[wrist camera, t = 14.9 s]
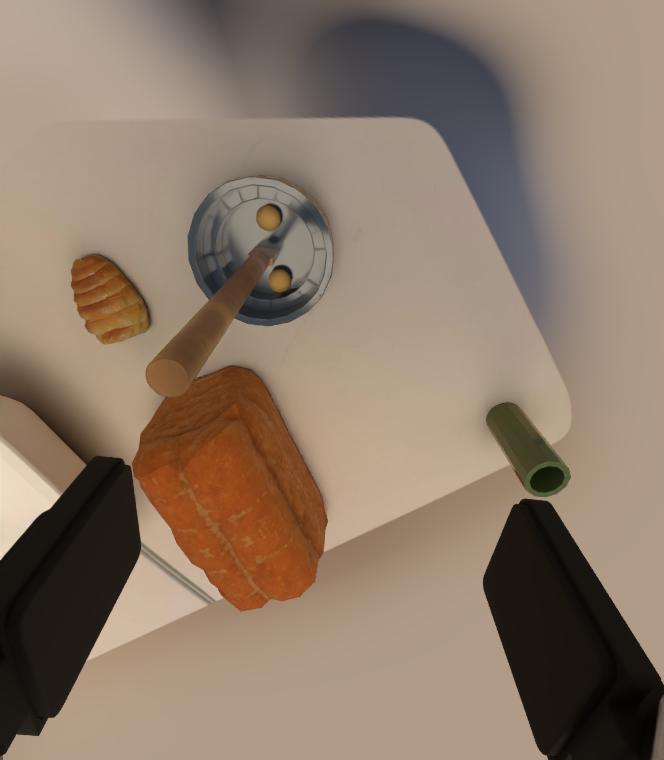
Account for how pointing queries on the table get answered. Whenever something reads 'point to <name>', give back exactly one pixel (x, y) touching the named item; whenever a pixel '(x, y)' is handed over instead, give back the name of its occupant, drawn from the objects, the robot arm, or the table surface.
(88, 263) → the pastry
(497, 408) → the utensil pot
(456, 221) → the table surface
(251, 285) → the wooden dowel rod
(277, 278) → the chickpea
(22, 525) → the baking dish
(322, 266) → the bowl
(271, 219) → the chickpea
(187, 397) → the bread
